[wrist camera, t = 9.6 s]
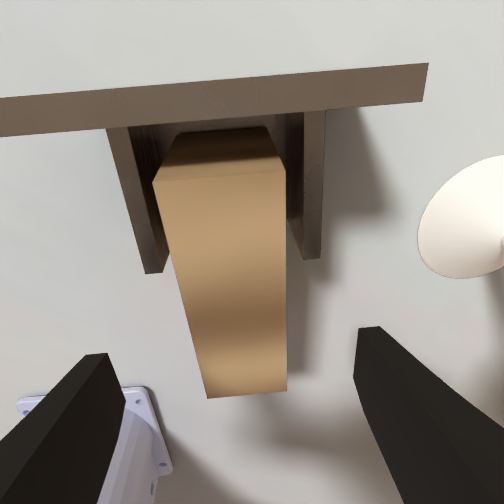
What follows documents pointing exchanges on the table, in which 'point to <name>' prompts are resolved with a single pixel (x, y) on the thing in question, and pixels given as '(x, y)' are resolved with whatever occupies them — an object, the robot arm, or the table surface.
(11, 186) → the table surface
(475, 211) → the champagne flute
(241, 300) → the wooden block
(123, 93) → the bracket
